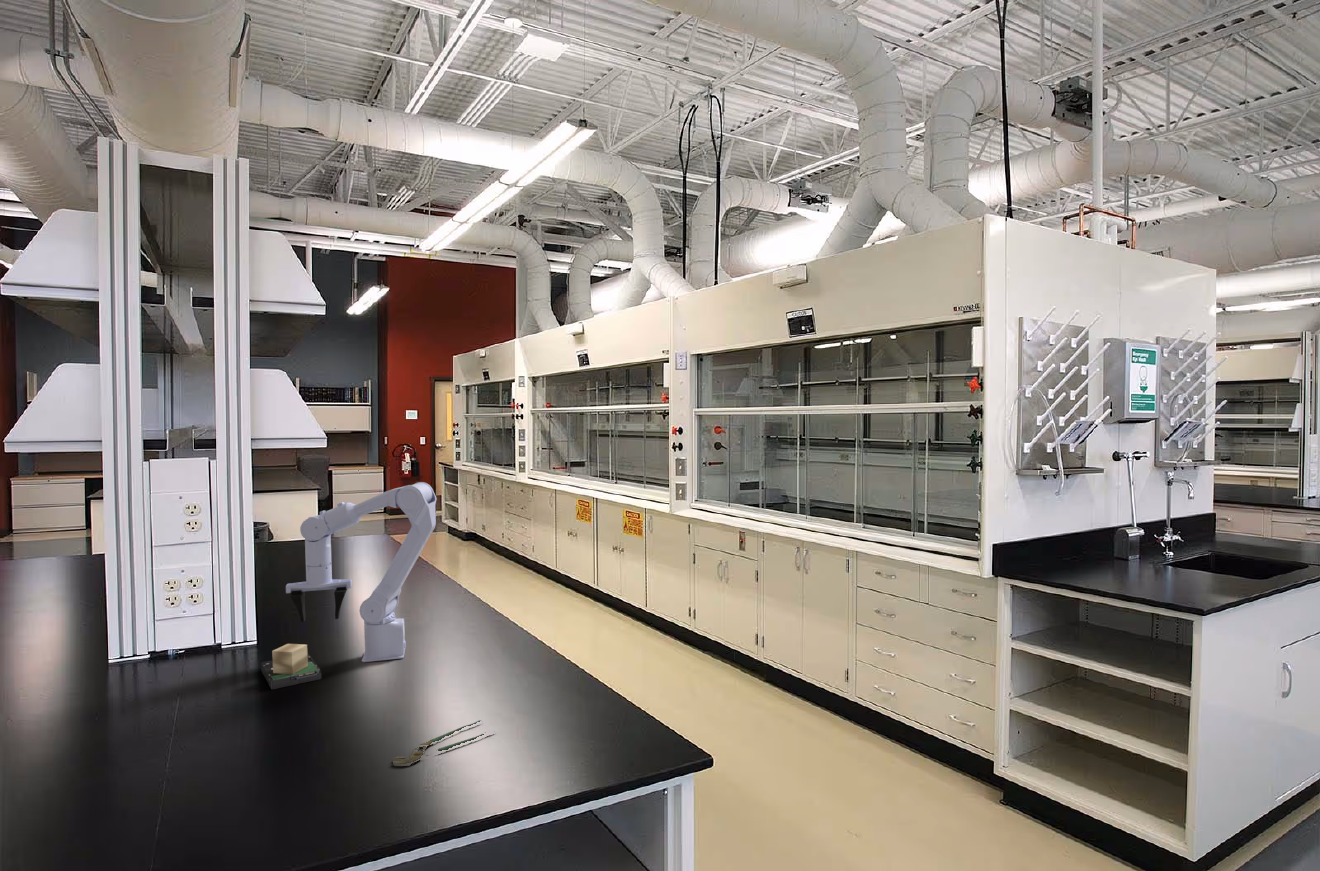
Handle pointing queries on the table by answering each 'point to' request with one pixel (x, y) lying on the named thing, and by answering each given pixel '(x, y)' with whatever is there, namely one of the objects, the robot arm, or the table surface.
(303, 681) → the disk drive
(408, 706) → the table surface
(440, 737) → the pliers
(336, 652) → the table surface
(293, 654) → the maple cube
